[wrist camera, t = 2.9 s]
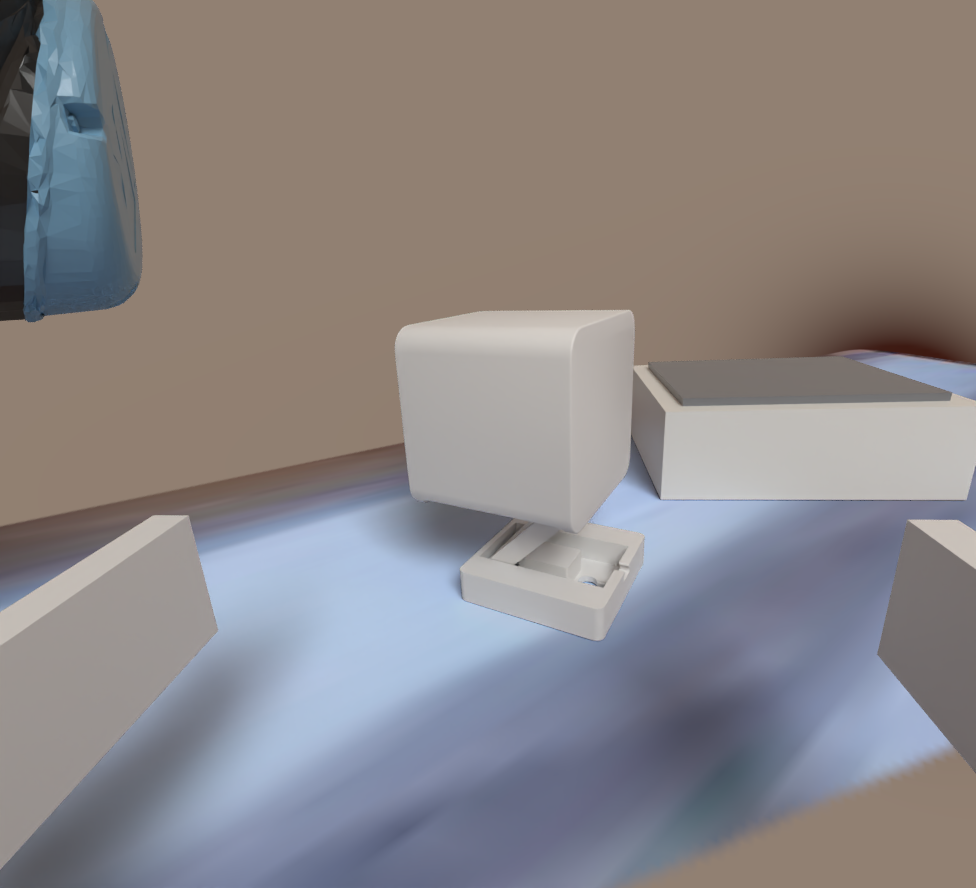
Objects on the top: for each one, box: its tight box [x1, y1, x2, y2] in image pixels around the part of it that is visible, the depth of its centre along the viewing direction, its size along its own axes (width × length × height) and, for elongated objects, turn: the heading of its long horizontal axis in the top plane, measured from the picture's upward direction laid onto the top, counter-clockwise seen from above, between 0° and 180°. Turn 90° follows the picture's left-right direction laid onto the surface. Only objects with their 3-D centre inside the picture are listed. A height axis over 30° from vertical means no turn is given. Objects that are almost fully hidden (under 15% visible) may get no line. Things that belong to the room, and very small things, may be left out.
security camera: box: [395, 310, 645, 641], centre depth 19 cm, size 6×7×10 cm
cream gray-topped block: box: [631, 356, 976, 500], centre depth 31 cm, size 14×12×5 cm
